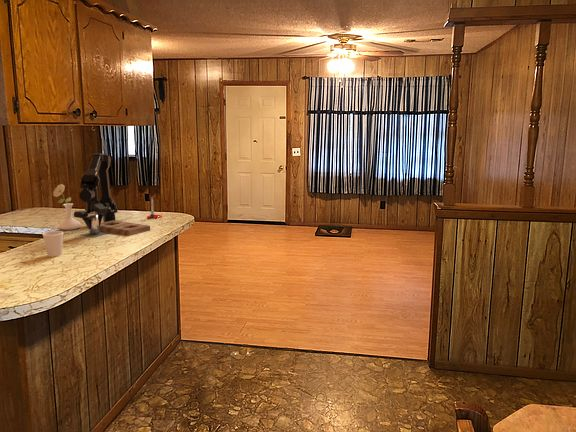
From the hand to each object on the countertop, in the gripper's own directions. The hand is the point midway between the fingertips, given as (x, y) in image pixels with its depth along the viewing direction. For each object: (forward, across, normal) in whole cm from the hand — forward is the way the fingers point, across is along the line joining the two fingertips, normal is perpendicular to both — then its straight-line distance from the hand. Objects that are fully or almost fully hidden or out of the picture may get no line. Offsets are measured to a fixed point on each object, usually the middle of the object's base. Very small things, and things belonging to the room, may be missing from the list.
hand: (94, 228), depth 248 cm
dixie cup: (+4, -34, -16) cm, 38 cm away
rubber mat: (+4, 0, 0) cm, 4 cm away
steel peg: (+3, 0, 0) cm, 3 cm away
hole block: (+4, +14, -4) cm, 15 cm away
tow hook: (+4, +50, +7) cm, 51 cm away
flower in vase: (+4, +2, +23) cm, 23 cm away
